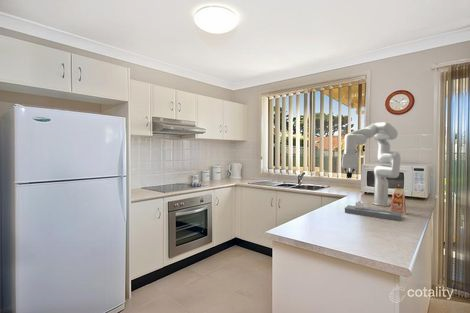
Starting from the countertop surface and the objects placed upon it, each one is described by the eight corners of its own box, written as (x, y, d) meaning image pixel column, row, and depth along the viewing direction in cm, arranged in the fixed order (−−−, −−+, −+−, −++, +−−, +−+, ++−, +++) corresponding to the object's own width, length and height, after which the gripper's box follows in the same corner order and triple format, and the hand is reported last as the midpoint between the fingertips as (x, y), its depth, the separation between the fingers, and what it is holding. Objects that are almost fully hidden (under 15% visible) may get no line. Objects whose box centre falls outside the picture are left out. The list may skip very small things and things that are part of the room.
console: (347, 209, 182) (348, 205, 182) (401, 216, 164) (401, 212, 164) (344, 212, 172) (344, 208, 172) (400, 221, 154) (401, 216, 154)
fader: (356, 206, 176) (356, 200, 175) (362, 207, 173) (363, 201, 173) (355, 208, 171) (355, 201, 171) (361, 208, 169) (362, 202, 169)
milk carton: (405, 215, 170) (406, 185, 169) (389, 212, 175) (390, 183, 175) (406, 212, 177) (407, 184, 176) (390, 210, 183) (392, 182, 182)
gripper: (363, 152, 174) (361, 178, 175) (339, 151, 182) (338, 176, 183) (361, 152, 168) (360, 179, 168) (337, 151, 176) (336, 177, 177)
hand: (349, 178), depth 176 cm, fingers closed
